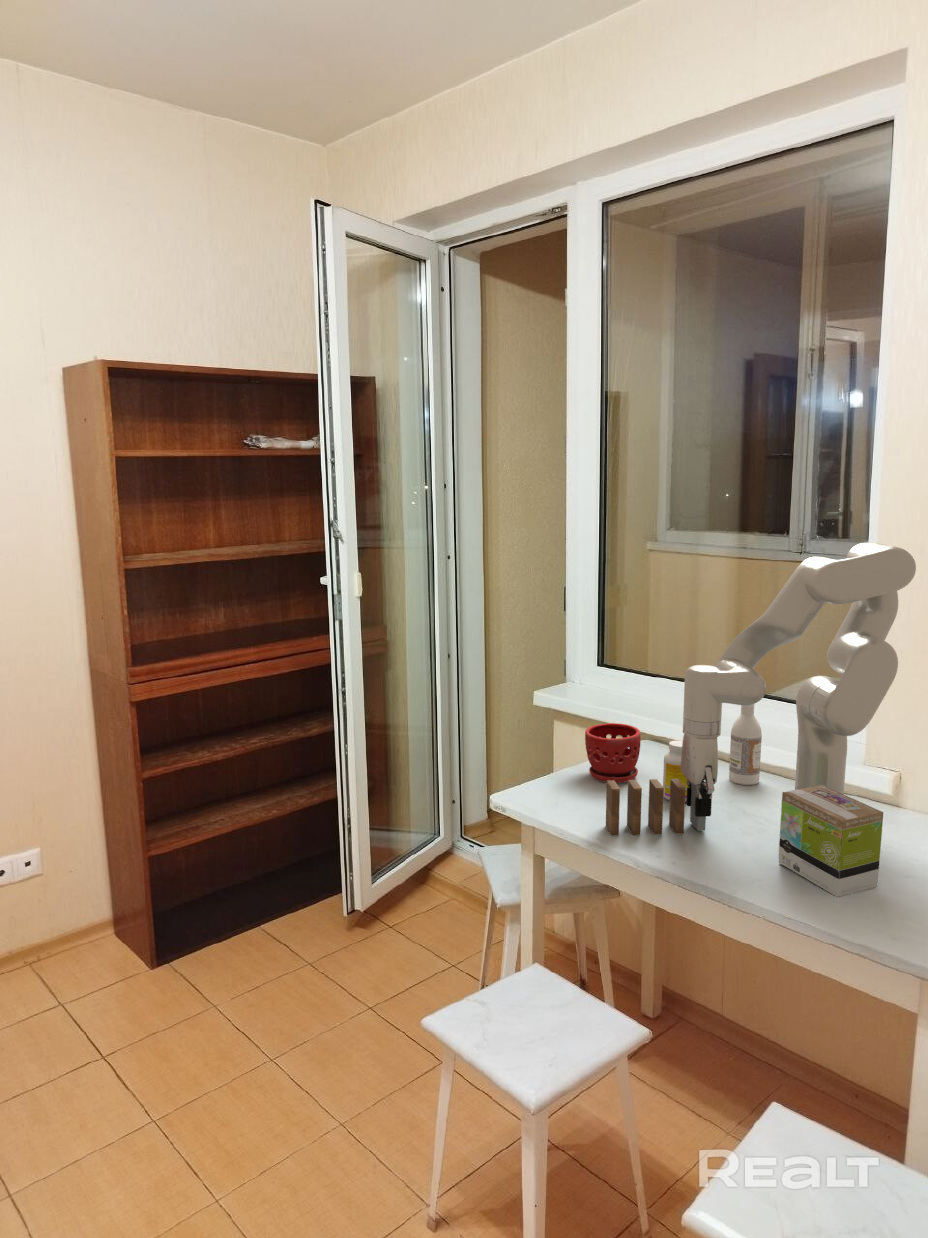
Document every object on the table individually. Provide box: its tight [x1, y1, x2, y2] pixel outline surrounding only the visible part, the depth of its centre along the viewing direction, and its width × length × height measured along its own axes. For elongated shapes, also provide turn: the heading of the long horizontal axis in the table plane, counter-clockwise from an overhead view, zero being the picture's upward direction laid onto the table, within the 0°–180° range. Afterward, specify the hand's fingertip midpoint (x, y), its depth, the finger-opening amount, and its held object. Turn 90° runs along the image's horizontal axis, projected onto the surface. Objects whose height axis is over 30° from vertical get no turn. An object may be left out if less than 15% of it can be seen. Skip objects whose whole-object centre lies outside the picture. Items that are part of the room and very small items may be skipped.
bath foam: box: [728, 704, 763, 786], centre depth 213 cm, size 7×7×20 cm
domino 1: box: [605, 780, 621, 836], centre depth 185 cm, size 2×5×10 cm, turn 3°
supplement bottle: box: [662, 740, 687, 803], centre depth 202 cm, size 7×7×13 cm
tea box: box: [778, 784, 884, 898], centre depth 163 cm, size 15×10×15 cm, turn 23°
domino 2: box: [626, 779, 643, 836], centre depth 185 cm, size 2×5×10 cm, turn 4°
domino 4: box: [668, 779, 686, 835], centre depth 185 cm, size 2×5×10 cm, turn 4°
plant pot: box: [584, 722, 642, 785], centre depth 216 cm, size 13×13×12 cm
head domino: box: [689, 780, 707, 832], centre depth 186 cm, size 2×5×10 cm, turn 4°
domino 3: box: [647, 778, 664, 835], centre depth 185 cm, size 2×5×10 cm, turn 4°
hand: (698, 810), depth 186 cm, fingers closed on head domino, 4 cm apart
